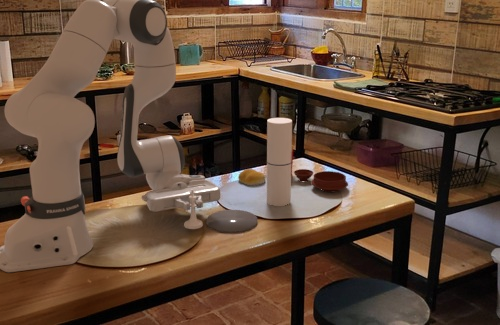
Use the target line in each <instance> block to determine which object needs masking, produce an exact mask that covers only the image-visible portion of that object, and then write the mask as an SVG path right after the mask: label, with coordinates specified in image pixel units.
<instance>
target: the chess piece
mask: <svg viewBox="0 0 500 325" xmlns="http://www.w3.org/2000/svg"><path fill="white" fill-rule="evenodd" d="M189 194H191V195H192V196H189V200H190V202H191V204H190V215H189V216H190V218H189V219H188V220H185V222H184V223H183V224H184V225H183V226H184V227H185V228H186V229H189V230H197V229H201V228H202V227H203V225H204V224H203V221H202V220H200V219H198V218H197V215H196V214H197V213H196V208H197V204H195V201H196V198H197V197H196V196H194V194H196V192H194V190H191V192H189Z"/></svg>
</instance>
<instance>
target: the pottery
mask: <svg viewBox="0 0 500 325" xmlns="http://www.w3.org/2000/svg"><path fill="white" fill-rule="evenodd" d="M293 173H294V175H295V176H296V178H297V179H298V181H299V180H300V181H307V182H309V179H311V177H312V176H313V179H312V180H311V182H310V184H311V186H313V187H314V188H317V189H319V190H320V189H322V190H324V191H323V192H325V191H330V192H329V193H332V192H331V191H336V192H338V191H339V190H342V189H346V188H347V187H348V186H349V182H348V181H347V176H346V175H345V174H344V173H342V172H340V171H333V170H332V171H330V170H328V171H327V170H326V171H325V170H324V171H318V172H316V173H314V171H313V170H312V169H306V168H304V169H301V168H300V169H296V170H294V171H293ZM300 181H299V182H300ZM322 190H321V191H322Z"/></svg>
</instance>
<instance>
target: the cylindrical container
mask: <svg viewBox="0 0 500 325" xmlns="http://www.w3.org/2000/svg"><path fill="white" fill-rule="evenodd" d="M266 125H267V127H266V203H267V205H269V204H270V206H272V205H274V207H284V206H285V205H286V206H288V205H290V204H291V196H292V195H291V194H292V188H291V187H292V175H291V154H292V147H293V120H292V119H291V118H287V117H272V118H268V119H267V122H266ZM289 203H290V204H289ZM287 204H288V205H287Z"/></svg>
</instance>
